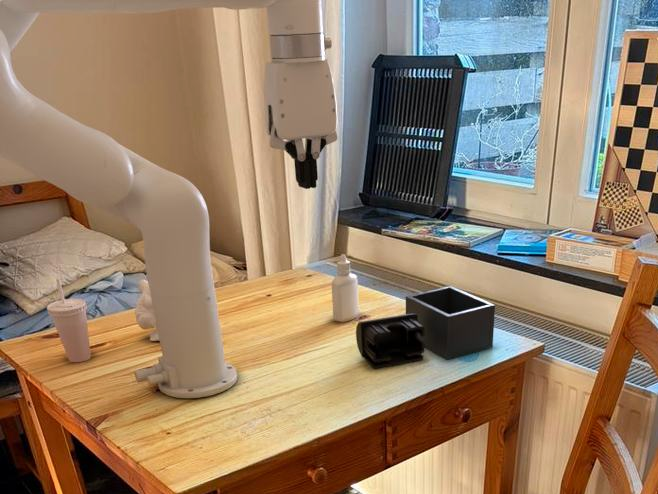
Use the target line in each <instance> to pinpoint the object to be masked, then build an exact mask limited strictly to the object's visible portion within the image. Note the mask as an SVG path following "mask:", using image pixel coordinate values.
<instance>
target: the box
mask: <svg viewBox="0 0 658 494" xmlns="http://www.w3.org/2000/svg"><path fill="white" fill-rule="evenodd" d="M495 311H496V304H494V303H491V302H489V301H486V300H484V299H482V298H480V297H478V296H475V295H473V294H471V293H468V292H466V291H463V290H461V289H460V288H457V287H454V286H452V285H448V286H444V287H440V288H439V287H438V288H436V289H432V290H431V289H430V290H426V291H422V292H418V293H414V294H410V295H406V296H405V314H411V313H415V314H417V322H418V323H419V324H420V325H422V326H423V327H424V329H425V336H421V335H420V334H419V333H418V338H419V339H420V340H421V341H422V342H423V343H424V344H425V347H424V350H425V349H426V350H427V351H429V352H431V353H433V354H434V355H436V356H438V357H439V358H441V359H443V360H445V361H450V360H454V359H458V358H462V357H466V356H469V355H472V354H476V353H479V352H483V351H486V350H490V349H493V348H494V331H495Z"/></svg>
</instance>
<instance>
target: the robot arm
mask: <svg viewBox="0 0 658 494" xmlns="http://www.w3.org/2000/svg"><path fill="white" fill-rule="evenodd" d="M201 8H204V9H205V8H206V9H208V8H209V9H211V8H213V9H214V8H216V9H217V8H219V9H220V8H223V9H224V8H225V9H228V10H235V11H236V10H237V11H239V10H240V11H241V10H249V9H250V10H251V9H252V10H253V9H264V8H266V14H267V15H266V16H267V25H268V36H269V46H270V47H269V49H270V57H271V61H266V62H265V70H264V89H263V98H264V101H263V104H264V122H265V130H266V133H267V135H268V136H270V137H269V147H270V148H272V149H275V150H281V151H285V152H286V153H287V154H288V155H289V156H290V158H291V159H293V161H294V173H295V181H296V183H297V185H298V187H299V188H303V189H304V190H309V189H317V185H318V184H317V181H318V179H319V175H318V160H319V158H320V155H321V153H322V151H323V150H324V148H325V147H326V146H328V145H331V144H332V143H334V142H336V141H338V134H337V129H338V108H337V107H338V106H337V97H336V96H337V95H336V90H335V83H334V78H333V73H332V72H333V71H332V68H331V63H330V60H329V59H328V58H325V55H326V51H327V50H328V49H329V50H330V49H332V45H333V43H332V39H331V38H330V37H326V36H325V33H324V27H323V8H322V0H0V157H1V158H3V159H5V160H7V161H8V162H10V163H12V164H14V165H16V166H18V167H20V168H22V169H23V170H25V171H27V172H28V173H31V174H32V175H34V176H36V177H38V178H40V179H41V180H43V181H45V182H47V183H49V184H51V185H53V186H55V187H57V188H58V189H60V190H63V191H64V192H65V193H67V195H69V196H71V197H72V198H74V199H75V200H77V201H79V202H81V203H83V204H86V205H90V206H94V207H95V208H98V209H100V210H102V211H104V212H105V213H108V214H109V215H112V216H113V217H115V218H118V219H120V220H122V221H124V222H125V223H128V224H130V225H131V226H133V227H135V228H136V229H138V230H139V231H141V236H142V242H143V252H144V253H143V255H144V265H145V272H146V279H147V282H148V284H149V289H150V293H151V299H152V304H153V309H154V314H155V319H156V324H157V330H158V335H159V344H160V345H159V346H160V350H161V355H162V356H158V357H157V361H158V363H154V364H153V367H152V366H151V367H147V368H141V369H136V370H134V371H133V373H134V378H135V381H136V382H137V383H138V384H140V383H143V382H147V383H148V385H149V386H151V385H156V384H157V387H158V390H159V391H160V392H161V393H163V394H165V395H166V396H169V397H172V398H177V399H198V398H199V399H200V398H205V397H210V396H214V395H217V394H220V393H222V392H225V391H226V390H229V389H230V388H232V387H233V386H234V385H235V384H236V383H237V381H238V371H237V369H236V368H235V366H233V365H232V364H230V363H228V362H226V356H225V350H224V343H223V335H222V329H221V322H220V314H219V307H218V301H217V294H216V288H215V287H216V286H215V282H214V275H213V266H212V259H211V246H210V241H211V240H210V216H209V211H208V206H207V203H206V201H205V199H204V197H203V195H202V193H201V192H200V191H199V189H198V188H197V187H196V186H195V185H194V183H192V182H191V181H190V180H188V179H187V178H185V177H184V176H182V175H179V174H177V173H175V172H172V171H169V170H167V169H165V168H163V167H161V166H159V165H157V164H155V163H154V162H151V161H150V160H148V159H146V158H144V157H143V156H141V155H139V154H138V153H136V152H134V151H132V150H131V149H129V148H127V147H126V146H123V145H122V144H120V143H118V142H117V141H116V140H115V139H114V138H113V137H111V136H110V135H108V134H107V133H105V132H102V131H100V130H98V129H96V128H93V127H91V126H88V125H85V124H83V123H82V122H79V121H77V120H75V119H74V118H72V117H70V116H68V115H67V114H65V113H63V112H61V111H60V110H58V109H56V108H55V107H54V106H52V105H51V104H49V103H47V102H45V101H44V100H42V99H40V98H39V97H37V96H35V95H34V94H33V93H31V92H30V91H28V89H26V88H25V87H24V86H23V85H22V83H21V82H20V81H19V79H18V78H17V76H16V74H15V72H14V69H13V64H12V58H11V57H12V56H11V52H12V51H13V50H14V49H15V48H16V46H17V45H18V43H19V42H20V41H21V39H22V38H23V36H24V35H26V33H27V31H29V29H30V27H31V26H32V24H33V23H34V22H35V20H36V19H37V18H38V16H39V15H40V14H153V13H155V14H156V13H161V12H167V11H172V10H181V9H201ZM303 139H304V140H305V141H303Z"/></svg>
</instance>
